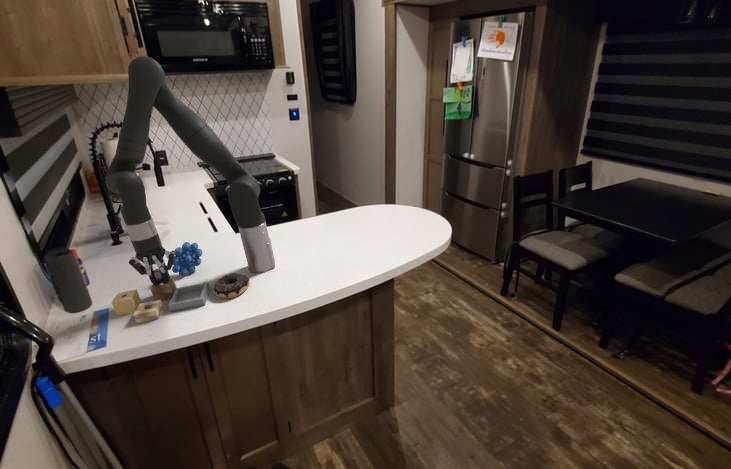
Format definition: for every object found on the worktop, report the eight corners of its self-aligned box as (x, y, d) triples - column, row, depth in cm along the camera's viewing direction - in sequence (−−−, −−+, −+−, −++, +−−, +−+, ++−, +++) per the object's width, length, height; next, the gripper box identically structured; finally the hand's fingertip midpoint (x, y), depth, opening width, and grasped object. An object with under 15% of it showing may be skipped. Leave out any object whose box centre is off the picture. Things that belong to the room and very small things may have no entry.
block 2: (177, 289, 126) (172, 276, 124) (173, 298, 121) (168, 285, 119) (159, 292, 125) (155, 280, 123) (155, 301, 120) (150, 288, 118)
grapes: (201, 263, 142) (193, 235, 137) (209, 268, 138) (200, 239, 133) (171, 276, 135) (160, 246, 130) (178, 282, 131) (167, 251, 126)
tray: (209, 288, 125) (207, 282, 124) (205, 305, 116) (202, 298, 115) (178, 294, 123) (176, 288, 122) (171, 312, 114) (168, 305, 113)
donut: (253, 279, 128) (251, 269, 126) (244, 299, 117) (241, 288, 116) (221, 282, 128) (218, 272, 127) (210, 302, 117) (206, 291, 116)
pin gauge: (171, 290, 125) (163, 267, 121) (169, 295, 122) (160, 271, 118) (162, 292, 124) (153, 269, 120) (160, 296, 122) (151, 273, 118)
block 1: (141, 302, 121) (136, 289, 119) (136, 312, 116) (130, 298, 114) (123, 305, 120) (117, 292, 118) (117, 315, 115) (111, 302, 113)
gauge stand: (163, 307, 117) (160, 299, 115) (158, 318, 111) (155, 310, 110) (143, 311, 116) (139, 303, 114) (136, 323, 110) (133, 314, 109)
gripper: (170, 226, 118) (186, 272, 126) (123, 233, 116) (142, 280, 123) (164, 235, 112) (181, 284, 119) (114, 243, 109) (134, 292, 117)
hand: (161, 282), depth 121 cm, fingers closed on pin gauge, 2 cm apart
